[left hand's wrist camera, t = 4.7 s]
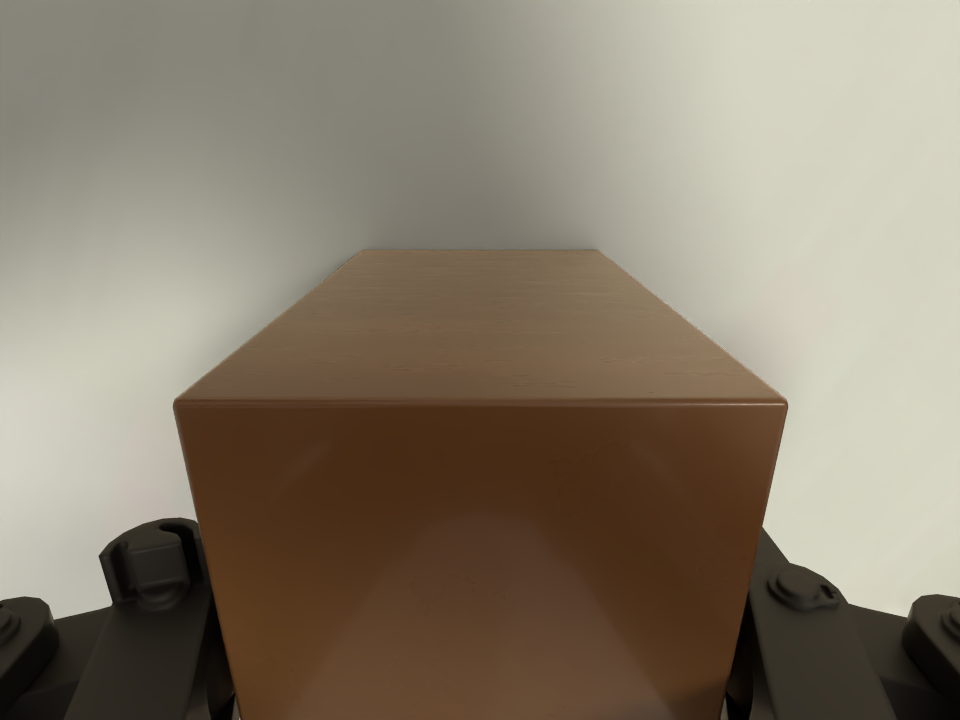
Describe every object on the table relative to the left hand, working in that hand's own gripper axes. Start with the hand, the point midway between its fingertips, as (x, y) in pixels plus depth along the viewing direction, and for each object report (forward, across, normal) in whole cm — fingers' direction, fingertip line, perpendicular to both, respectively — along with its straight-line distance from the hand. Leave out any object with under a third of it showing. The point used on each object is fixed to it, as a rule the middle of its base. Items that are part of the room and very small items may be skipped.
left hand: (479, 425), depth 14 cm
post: (0, 0, -28) cm, 28 cm away
